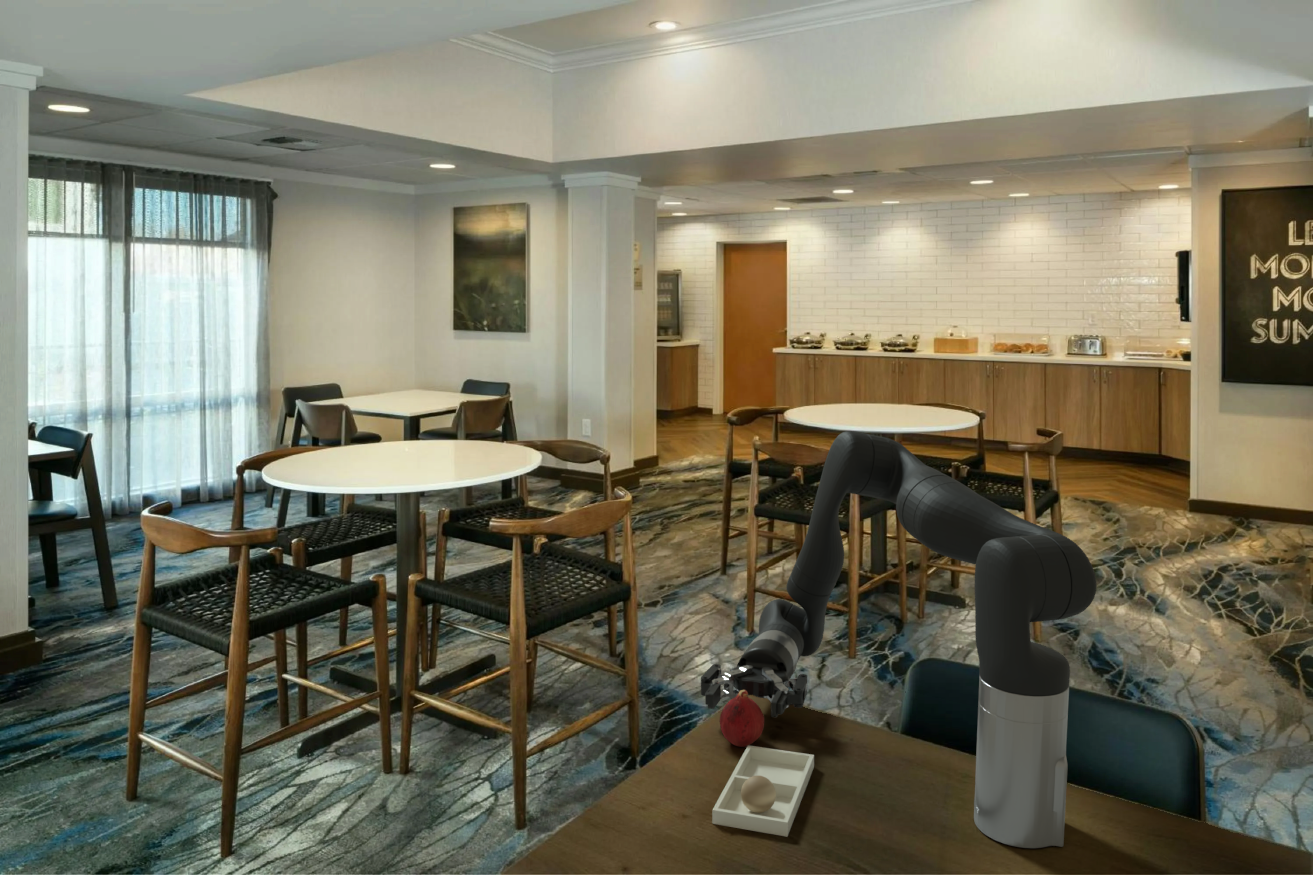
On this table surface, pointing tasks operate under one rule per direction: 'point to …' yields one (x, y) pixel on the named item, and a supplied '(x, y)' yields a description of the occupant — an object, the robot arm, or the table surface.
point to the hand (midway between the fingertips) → (741, 706)
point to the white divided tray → (788, 780)
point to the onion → (741, 720)
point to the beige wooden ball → (758, 794)
